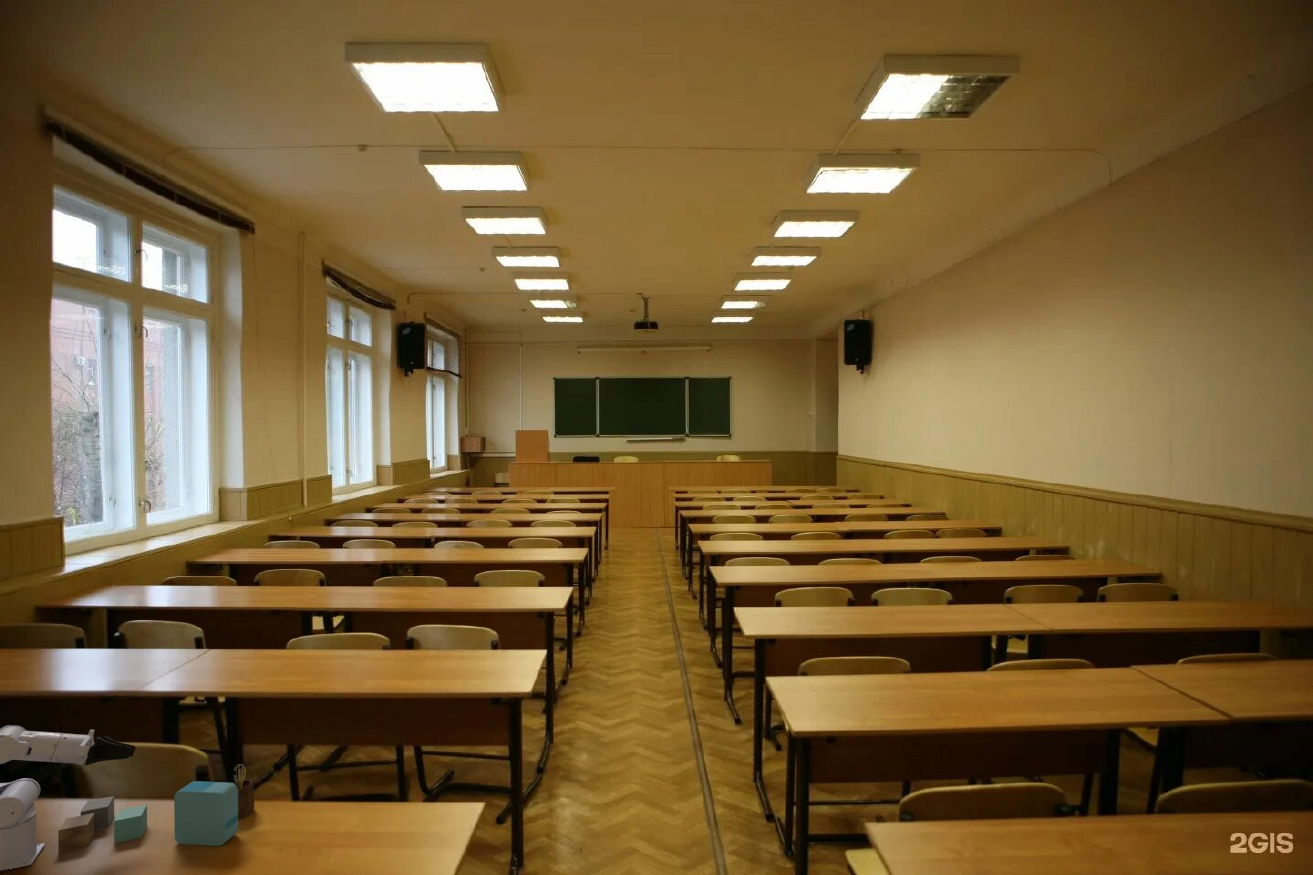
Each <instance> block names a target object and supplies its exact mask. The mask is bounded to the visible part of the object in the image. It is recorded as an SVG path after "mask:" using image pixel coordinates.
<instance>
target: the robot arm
mask: <svg viewBox="0 0 1313 875" xmlns="http://www.w3.org/2000/svg"><path fill="white" fill-rule="evenodd" d="M94 734H95V729H90V730H89V731H88V734H78V733H77V734H74V733H63V732H51V731H50V732H49V731H36V730H35V731H33V730H27V729H25V727H23V726H20V725H11V724H9V725H5V726H2V727H1V728H0V765H3V764H6V763H7V762H10V761H14V760H16V761H19V760H20V761H27V762H28V761H29V762H30V761H31V762H49V763H62V764H63V763H64V764H65V763H67V764H76V765H82V764H83V763H84V765H85V766H89V765H92V764H97V763H100V762H107V761H116V760H117V761H119V760H126V759H129V758H130V757H133V756H134V754H135V751H136V748H137V746H135V745H132V744H129V743H124V742H121V741H116V740H114V739H112V738H110V737H109V736H107V735H102V736H97V737H96V739H95V740H94ZM40 793H41V786H40V784H39V783H38V782H37V781H36V780H34V779H33V778H27V777H26V778H23V777H22V778H20V779H18V778H17V779H16V780H13V781H10V782H1V783H0V870H4V869H10V870H14V869H13V868H15V869H19V868H23V867H29V866H31V865H32V864H33V863H34V861H35V860H36V859H37V857H39V856H38V855H40V853H41V852H42V850H43V849H44V848H45V846H46V844H45V842H41V843H38V829H37V828H38V821H37V820H38V818H37V817H38V816H37V815H38V814H37V812H38V810H37V808H36V806H35V804H34V803H35V801H36V800H37V799H38V798H39V796H40Z"/></svg>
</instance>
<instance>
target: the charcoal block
mask: <svg viewBox="0 0 1313 875" xmlns="http://www.w3.org/2000/svg"><path fill="white" fill-rule="evenodd" d="M92 813H94V831H98V830H102V829H101V828H103V829H107V828H109V827H110V825H111V823H112V822H111V821H113V820H112V819H114V818H115V796H107V797H102V798H97V799H92V800H91V799H90V800H87V801H86V803H85V804H84V806H83V807H82V809H81V810H80V816H81V815H86V814H92ZM97 829H98V830H97Z"/></svg>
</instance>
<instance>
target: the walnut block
mask: <svg viewBox="0 0 1313 875" xmlns="http://www.w3.org/2000/svg"><path fill="white" fill-rule="evenodd" d="M57 831H58V833H57V835H58V836H57V837H58V840H57V841H58V843H57V844H58V847H57V848H58V853H64V852H68V851H72V850H77V849H76V848H78V849H81V848H86V847H89V844H90V843H91V841H92V839H93V837H94V836H95V830H94V813H92V814H86V815H81V814H80V815H77V816H72V817H71V816H70V817H67V818H65V819H64V821H63V823H62V824H61V825H60V827H59V828H58V830H57Z"/></svg>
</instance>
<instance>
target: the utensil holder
mask: <svg viewBox="0 0 1313 875" xmlns="http://www.w3.org/2000/svg"><path fill="white" fill-rule="evenodd" d="M240 766H241V767H242V768H240ZM237 768H238V769H237ZM234 769H235V770H238V772H237V773H238V774H237V776H234V777H233V778H234V780H235V781H234V782H233V783H234V784H235V785H236V786H237V788H238V820H240V819H243V818H247V817H248V816H249V815H251V814H252V813H253V812H254V810H255V790H254V788H253V786H254V785H253V781H252V780H251V779H246V777H247V768H246V767H245V765H244V764H242V763H241V764H237V765H236V766H235V767H234Z"/></svg>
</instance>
